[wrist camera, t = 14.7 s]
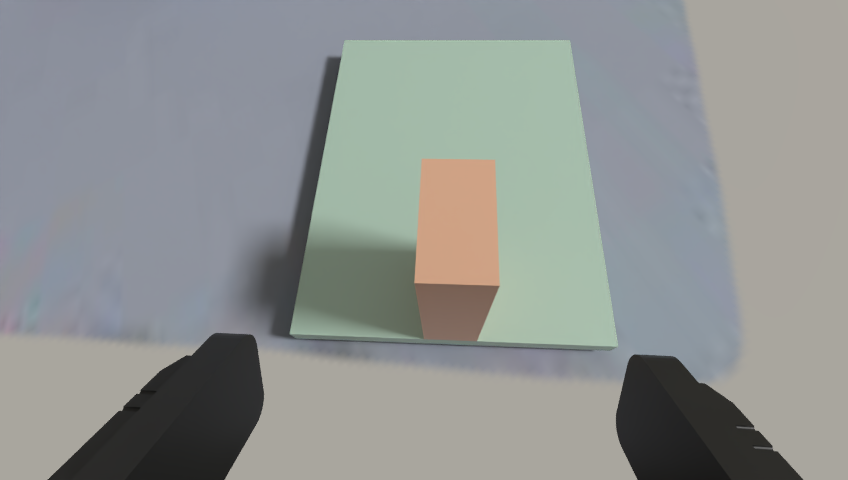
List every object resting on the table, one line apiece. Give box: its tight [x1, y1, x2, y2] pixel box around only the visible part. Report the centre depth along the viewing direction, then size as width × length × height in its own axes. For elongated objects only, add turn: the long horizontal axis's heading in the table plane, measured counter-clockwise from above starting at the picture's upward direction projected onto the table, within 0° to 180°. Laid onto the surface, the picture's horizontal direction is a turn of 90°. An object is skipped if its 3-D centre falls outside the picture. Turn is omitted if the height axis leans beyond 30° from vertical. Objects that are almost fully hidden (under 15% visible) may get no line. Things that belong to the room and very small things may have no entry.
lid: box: [290, 40, 618, 351], centre depth 17 cm, size 16×12×8 cm
